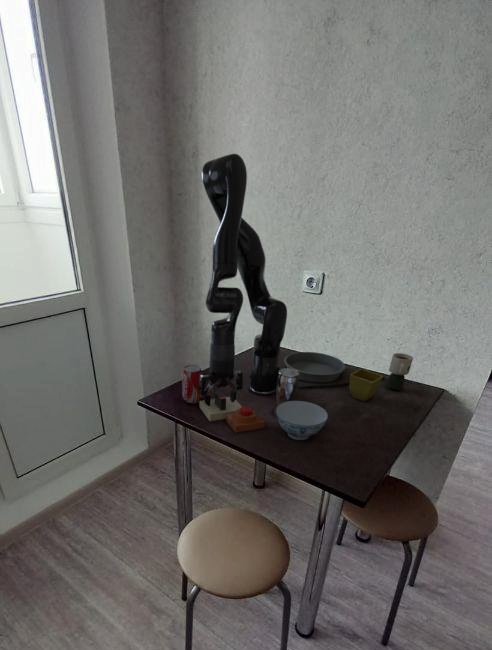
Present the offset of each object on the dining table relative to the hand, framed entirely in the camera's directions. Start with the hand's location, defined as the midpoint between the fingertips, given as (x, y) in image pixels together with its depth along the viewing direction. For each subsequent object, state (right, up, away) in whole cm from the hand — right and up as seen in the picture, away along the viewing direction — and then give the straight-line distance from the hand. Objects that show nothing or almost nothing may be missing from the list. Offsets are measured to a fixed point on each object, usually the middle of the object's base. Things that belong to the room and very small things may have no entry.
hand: (220, 403), depth 131 cm
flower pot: (+52, +3, +17) cm, 54 cm away
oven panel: (0, -3, +3) cm, 4 cm away
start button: (+8, -4, -5) cm, 10 cm away
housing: (+8, -7, -3) cm, 11 cm away
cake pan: (+38, +15, +36) cm, 54 cm away
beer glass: (+21, -4, +3) cm, 22 cm away
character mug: (+67, +7, +25) cm, 72 cm away
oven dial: (0, -1, +1) cm, 1 cm away
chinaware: (+24, -10, -7) cm, 27 cm away
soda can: (-10, +1, +10) cm, 14 cm away
